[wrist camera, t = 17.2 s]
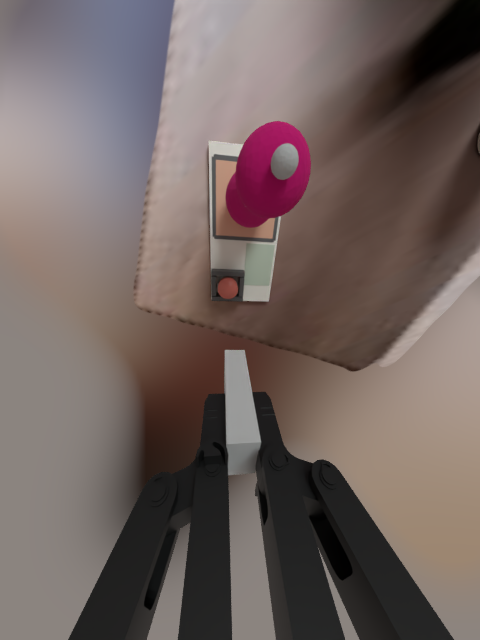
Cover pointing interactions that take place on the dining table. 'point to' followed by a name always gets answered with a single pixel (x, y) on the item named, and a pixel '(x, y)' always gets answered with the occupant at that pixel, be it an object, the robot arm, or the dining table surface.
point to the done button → (227, 287)
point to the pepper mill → (268, 174)
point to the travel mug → (479, 143)
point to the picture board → (237, 235)
